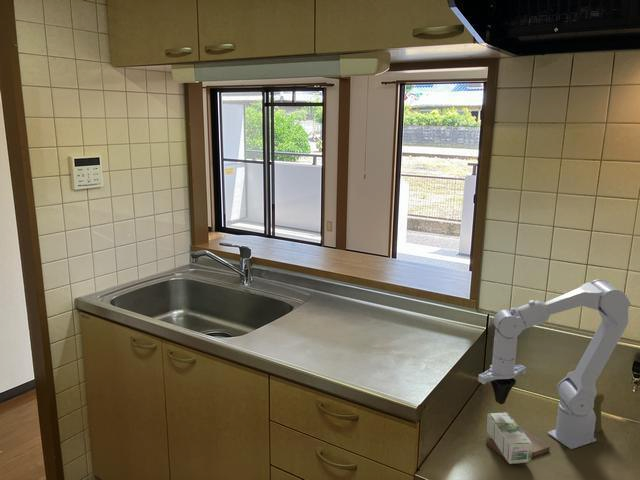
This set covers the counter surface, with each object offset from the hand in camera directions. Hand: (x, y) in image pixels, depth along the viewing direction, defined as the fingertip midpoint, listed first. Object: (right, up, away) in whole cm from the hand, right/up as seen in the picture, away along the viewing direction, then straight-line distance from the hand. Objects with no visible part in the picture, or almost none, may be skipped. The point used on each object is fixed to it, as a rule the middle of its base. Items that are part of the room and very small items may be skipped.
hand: (499, 402), depth 141 cm
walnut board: (+4, -11, -3) cm, 12 cm away
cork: (+28, -9, +7) cm, 30 cm away
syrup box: (0, -6, +2) cm, 6 cm away
